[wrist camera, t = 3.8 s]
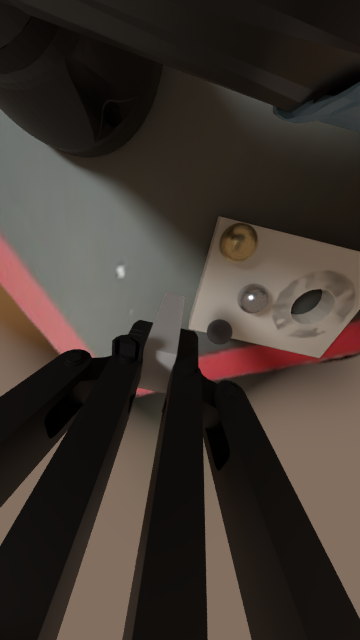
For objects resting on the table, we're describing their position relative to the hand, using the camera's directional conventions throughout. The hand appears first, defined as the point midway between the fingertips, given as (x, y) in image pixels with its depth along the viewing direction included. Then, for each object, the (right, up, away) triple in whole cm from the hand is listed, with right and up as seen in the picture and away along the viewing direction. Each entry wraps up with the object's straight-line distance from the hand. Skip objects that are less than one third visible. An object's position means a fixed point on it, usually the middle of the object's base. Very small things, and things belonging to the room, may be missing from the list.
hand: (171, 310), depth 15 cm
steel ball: (+8, +1, +5) cm, 10 cm away
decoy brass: (+6, +6, +2) cm, 9 cm away
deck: (+12, +3, +9) cm, 15 cm away
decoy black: (+5, -2, +8) cm, 10 cm away
